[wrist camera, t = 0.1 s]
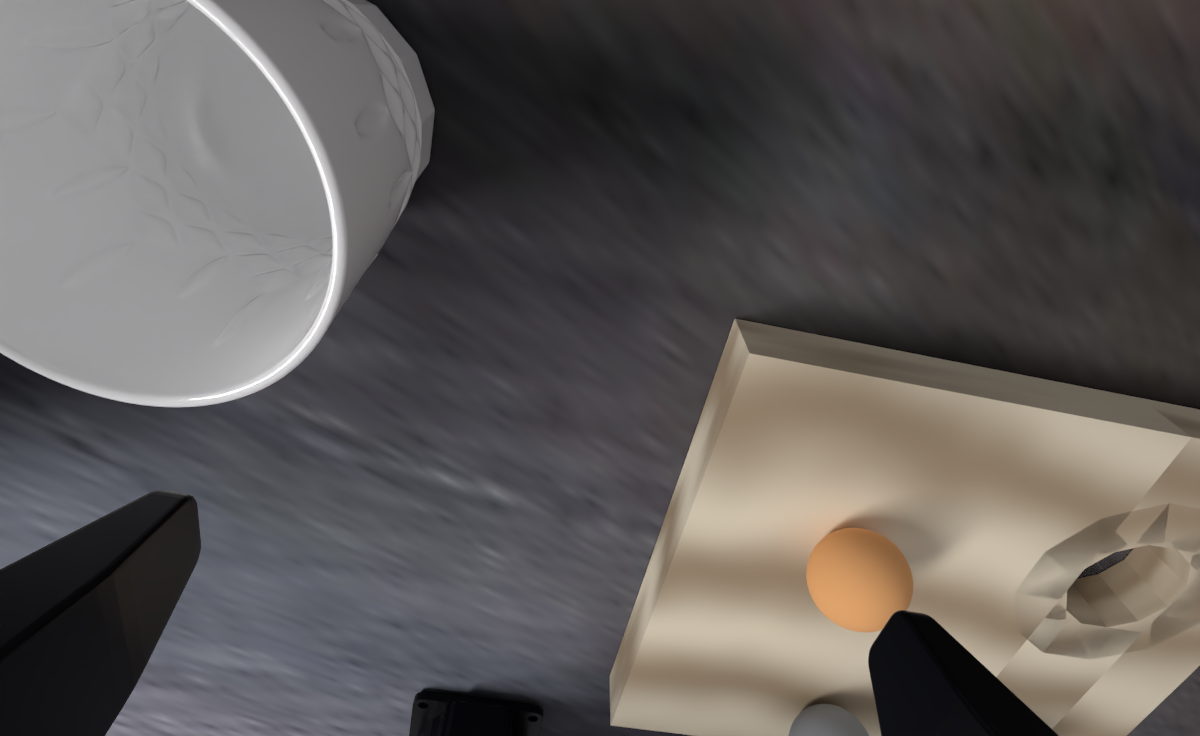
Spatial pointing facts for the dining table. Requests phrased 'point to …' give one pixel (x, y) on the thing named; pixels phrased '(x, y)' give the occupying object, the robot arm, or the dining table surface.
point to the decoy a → (826, 722)
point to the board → (916, 539)
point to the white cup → (195, 185)
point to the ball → (859, 579)
